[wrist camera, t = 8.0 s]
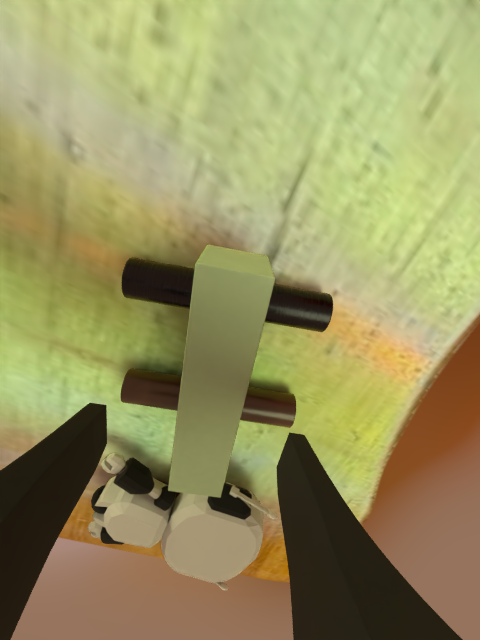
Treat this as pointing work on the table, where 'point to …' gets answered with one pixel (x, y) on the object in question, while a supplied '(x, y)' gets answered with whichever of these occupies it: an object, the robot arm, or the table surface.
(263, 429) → the table surface
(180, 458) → the bar
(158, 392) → the walnut rod
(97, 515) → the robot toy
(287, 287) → the black rod
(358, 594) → the robot arm
